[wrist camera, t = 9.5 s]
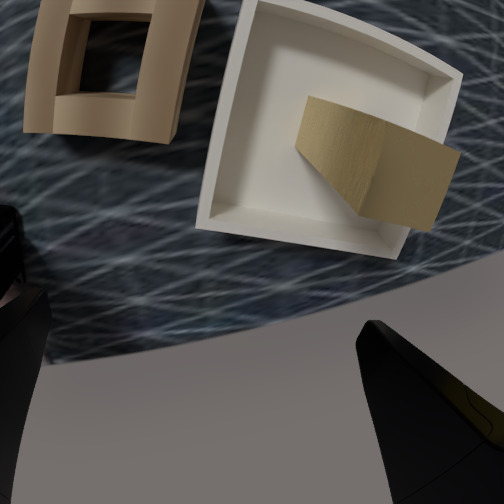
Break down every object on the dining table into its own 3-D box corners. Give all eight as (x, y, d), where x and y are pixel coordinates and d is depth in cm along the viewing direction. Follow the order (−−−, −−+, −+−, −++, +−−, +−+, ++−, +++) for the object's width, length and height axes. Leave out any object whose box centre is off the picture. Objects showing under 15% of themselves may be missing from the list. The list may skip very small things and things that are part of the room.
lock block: (48, 121, 15) (23, 132, 12) (69, -7, 11) (46, -17, 9) (176, 132, 17) (168, 144, 14) (206, -4, 13) (204, -19, 10)
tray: (198, 204, 19) (195, 227, 16) (242, 0, 13) (247, -14, 10) (377, 236, 21) (396, 259, 19) (433, 69, 15) (463, 74, 13)
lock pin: (294, 146, 17) (358, 215, 9) (308, 95, 16) (390, 122, 8) (343, 158, 18) (429, 232, 10) (357, 110, 16) (460, 153, 9)
